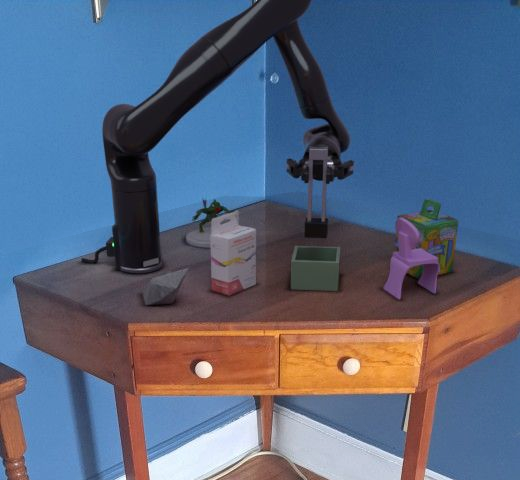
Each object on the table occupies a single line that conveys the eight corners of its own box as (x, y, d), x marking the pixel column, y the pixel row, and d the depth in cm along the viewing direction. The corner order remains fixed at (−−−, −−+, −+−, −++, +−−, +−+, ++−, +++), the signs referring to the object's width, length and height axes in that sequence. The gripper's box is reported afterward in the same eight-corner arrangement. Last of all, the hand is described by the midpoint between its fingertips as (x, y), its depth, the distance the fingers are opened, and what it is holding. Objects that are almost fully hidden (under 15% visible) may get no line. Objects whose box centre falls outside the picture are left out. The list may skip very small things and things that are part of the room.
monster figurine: (198, 250, 183) (196, 206, 179) (178, 236, 193) (175, 193, 188) (245, 242, 188) (245, 199, 184) (223, 228, 198) (222, 186, 193)
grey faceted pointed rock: (124, 301, 154) (134, 273, 160) (146, 324, 157) (154, 295, 164) (173, 275, 149) (181, 246, 155) (195, 298, 152) (201, 270, 159)
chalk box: (391, 268, 172) (396, 199, 166) (423, 260, 177) (429, 193, 170) (421, 281, 166) (427, 210, 159) (454, 272, 170) (461, 203, 163)
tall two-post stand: (304, 237, 159) (306, 149, 151) (305, 232, 162) (307, 145, 154) (326, 238, 158) (330, 150, 150) (327, 232, 161) (330, 146, 153)
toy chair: (440, 295, 159) (448, 220, 152) (401, 301, 156) (407, 225, 149) (418, 280, 166) (424, 209, 159) (380, 286, 163) (385, 214, 156)
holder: (290, 289, 162) (291, 260, 159) (294, 273, 170) (295, 245, 168) (337, 291, 161) (338, 262, 158) (339, 274, 169) (340, 247, 167)
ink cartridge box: (229, 297, 159) (227, 223, 152) (211, 291, 162) (208, 219, 155) (257, 284, 165) (257, 213, 158) (239, 279, 167) (237, 209, 161)
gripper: (288, 138, 166) (279, 157, 151) (357, 139, 164) (356, 159, 149) (287, 174, 169) (279, 196, 154) (355, 176, 168) (354, 199, 153)
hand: (317, 178), depth 152 cm, fingers closed on tall two-post stand, 3 cm apart
